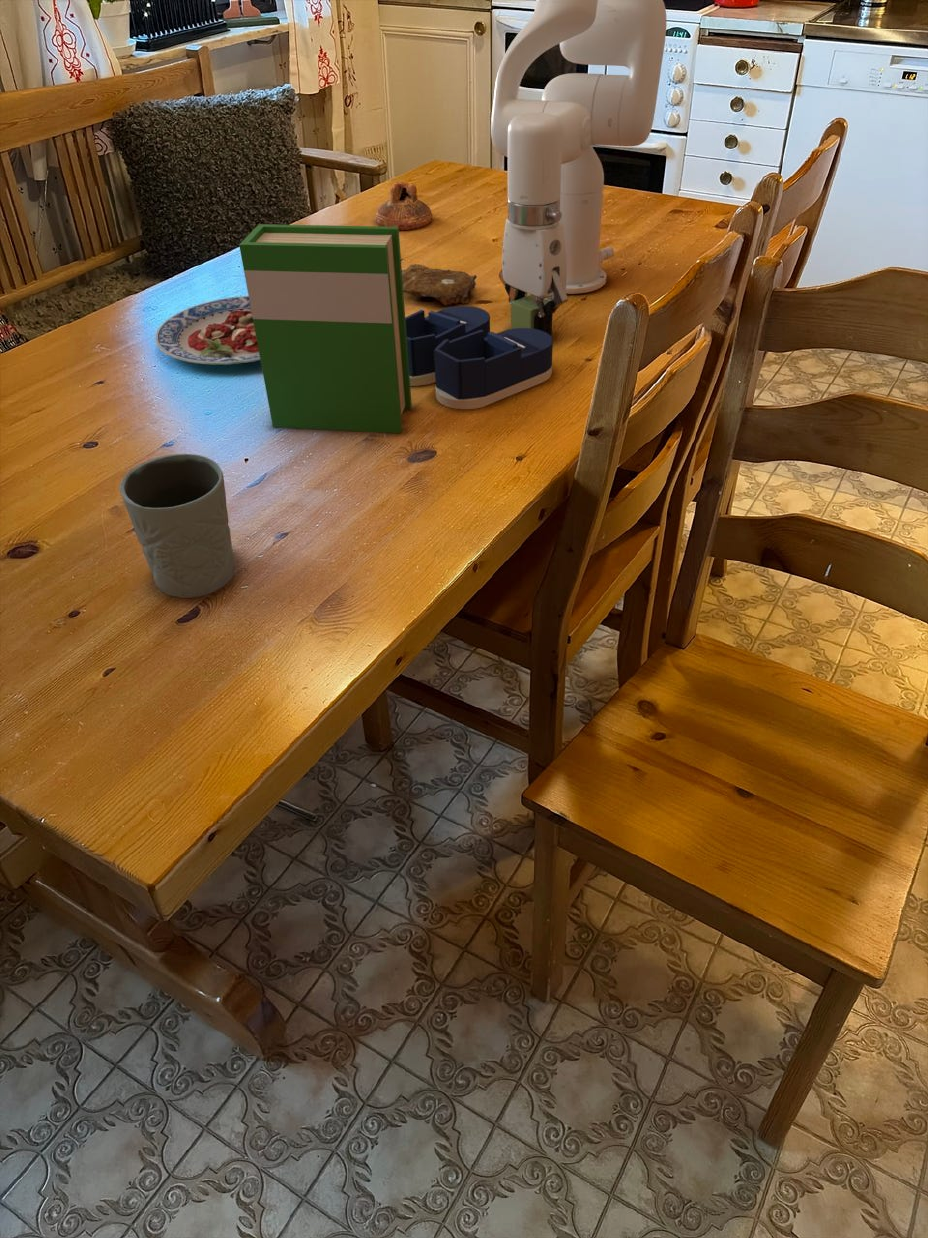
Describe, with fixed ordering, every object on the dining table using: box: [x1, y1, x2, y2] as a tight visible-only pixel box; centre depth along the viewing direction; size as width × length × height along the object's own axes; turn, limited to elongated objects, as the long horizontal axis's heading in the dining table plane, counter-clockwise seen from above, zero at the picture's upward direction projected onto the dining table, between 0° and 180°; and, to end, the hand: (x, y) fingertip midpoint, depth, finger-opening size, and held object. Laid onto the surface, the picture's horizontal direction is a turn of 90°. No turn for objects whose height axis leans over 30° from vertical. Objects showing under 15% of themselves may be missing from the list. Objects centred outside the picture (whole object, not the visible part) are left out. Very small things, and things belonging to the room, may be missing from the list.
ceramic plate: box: [154, 295, 261, 365], centre depth 144 cm, size 26×26×3 cm
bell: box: [374, 181, 433, 231], centre depth 185 cm, size 12×12×7 cm
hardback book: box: [238, 223, 413, 434], centre depth 117 cm, size 18×7×24 cm, turn 81°
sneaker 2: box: [434, 328, 554, 411], centre depth 129 cm, size 19×9×7 cm, turn 128°
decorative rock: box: [402, 263, 477, 306], centre depth 156 cm, size 11×4×15 cm
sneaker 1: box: [405, 305, 491, 387], centre depth 135 cm, size 19×9×7 cm, turn 139°
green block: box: [510, 294, 554, 329], centre depth 142 cm, size 5×5×5 cm
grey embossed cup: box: [119, 453, 236, 599], centre depth 95 cm, size 10×10×12 cm
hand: (531, 332), depth 143 cm, fingers closed on green block, 4 cm apart
